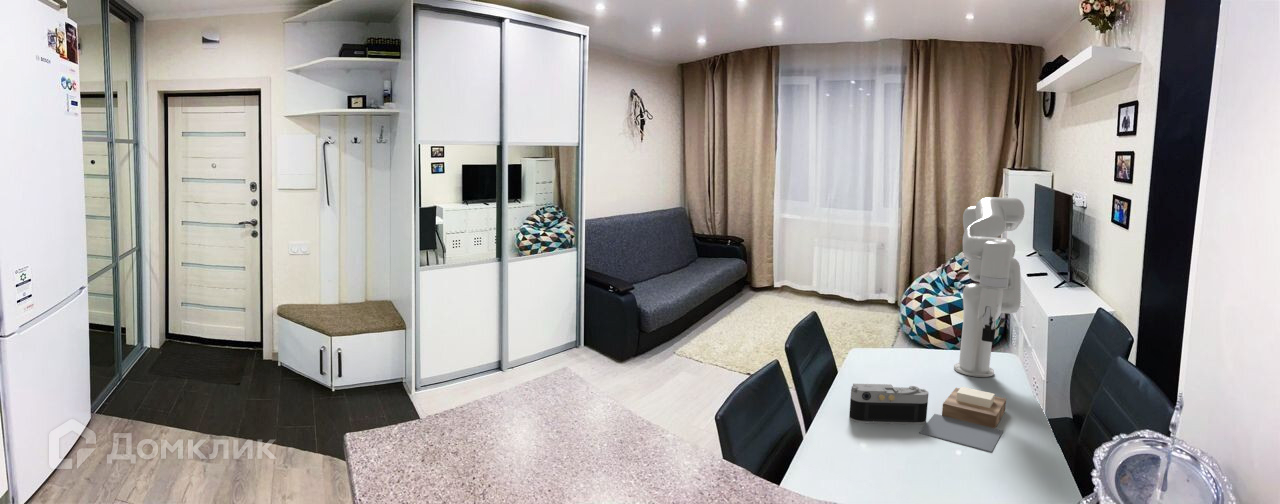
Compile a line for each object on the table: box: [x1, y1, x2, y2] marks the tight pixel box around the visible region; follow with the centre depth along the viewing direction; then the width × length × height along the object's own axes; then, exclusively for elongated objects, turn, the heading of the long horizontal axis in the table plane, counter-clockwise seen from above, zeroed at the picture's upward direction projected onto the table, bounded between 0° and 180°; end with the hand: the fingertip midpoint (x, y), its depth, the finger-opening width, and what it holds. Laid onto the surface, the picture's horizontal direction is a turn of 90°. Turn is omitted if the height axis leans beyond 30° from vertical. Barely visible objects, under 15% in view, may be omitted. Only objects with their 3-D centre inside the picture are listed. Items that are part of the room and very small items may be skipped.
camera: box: [848, 383, 930, 425], centre depth 190 cm, size 22×10×10 cm, turn 88°
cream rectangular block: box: [956, 386, 996, 408], centre depth 193 cm, size 6×9×2 cm, turn 52°
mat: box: [918, 413, 1004, 453], centre depth 182 cm, size 16×18×1 cm
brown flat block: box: [941, 387, 1007, 429], centre depth 194 cm, size 16×14×4 cm
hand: (987, 340), depth 199 cm, fingers closed
